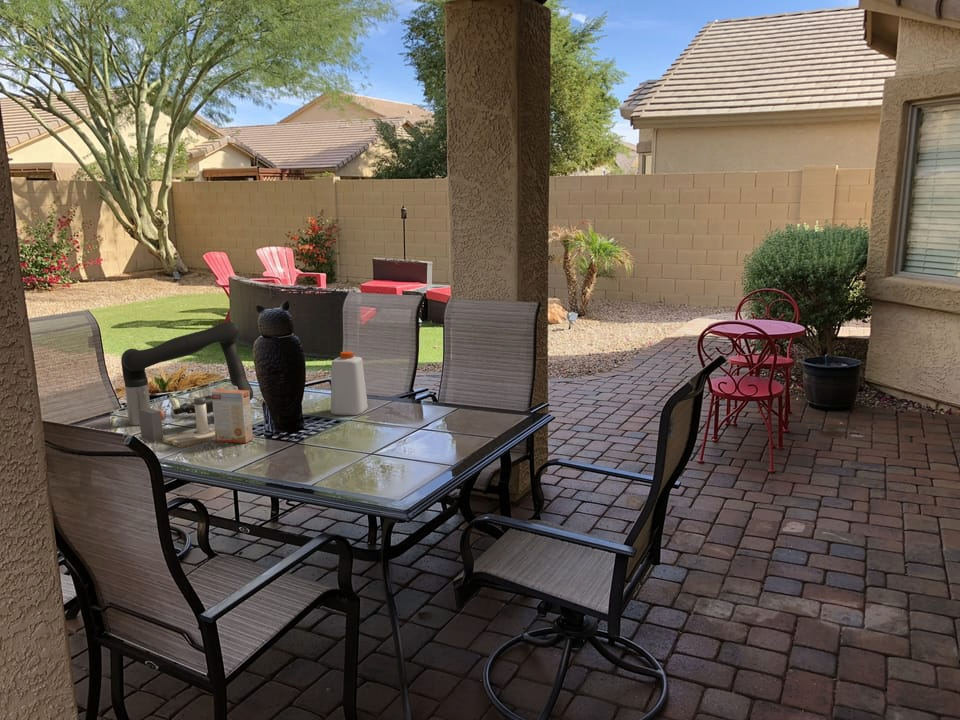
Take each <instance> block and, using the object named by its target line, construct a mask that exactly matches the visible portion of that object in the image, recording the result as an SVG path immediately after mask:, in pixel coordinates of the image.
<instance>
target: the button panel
mask: <svg viewBox="0 0 960 720" xmlns="http://www.w3.org/2000/svg"><path fill="white" fill-rule="evenodd" d="M158 410H159V409H154V408H151V407H150V408H145V409H140V410H139V419H140V425H139V427H140V436H141V437H142V438H141V439H143V440H144V439H145V440H147V441H149V442H153V441H156V442H159V441H158V440H160V441H162V440H161V439H162V438H164V432H163V420H161V411H158Z"/></svg>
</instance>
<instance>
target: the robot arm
mask: <svg viewBox="0 0 960 720" xmlns="http://www.w3.org/2000/svg"><path fill="white" fill-rule="evenodd" d="M239 334H240V328H239V326H238V325H237V324H236V323H235V322H232V321H225V322H222V323H220V324H217V325H215V326H214V325H213V326H212V327H209V328H207V329H204V330H203V329H202V330H199V331H195V332H192V333H188V334H183V335H181V336H177V337H174V338H170V339H168V340H166V341H165V342H163V343H160V344H159V345H156V346H153V347H150V348H145V349H137V348H129V349H126V350H125V351H124V352H123V353H122V355H121V361H120V362H121V363H120V364H121V370H122V377H123V378H122V379H123V382H124V388H125V389H124V390H125V397H126V399H125V400H126V409H127V411H126V412H127V419H128V424H129V425H130V426H140V419H139V410H140V409H145V408H150V409H151V402H150V401H151V400H150V390H149V382H148V377H147V373H146V369H147V368H150V367H152V366H154V365H157V364H160V363H164V362H167V361H173V360H176V359H181V358H185V357H187V356H191V355H193V354H195V353H198V352H200V351H201V350H203V349H205V348H206V347H208V346H210V345H212V344H215V343H219V345H220V346H221V347H220V348H221V350H222V353H223V355H224V357H225V361H226V366H227V370H228V371H227V372H228V376H229V379H230V382H231V384H232V386H234V387H236V388H237V390H249V393H250V401H251V400H252V399H253V397H254V390H253V388H252V386H251V384H250V382H249V380H248V379H247V375H246V370H245V367H244V364H243V361H242V359H241V357H240V355H239V352H238V351H239V350H238V344H237V343H238V338H239ZM203 397H204V398H206V411H207V414H210V413H213V402H212V394H209V395H204V396H203ZM172 412H173V414H174V415H180V414H188V415H189V414H195V404H194V401H193V402H191V403H187V402H184V403H182V404H181V405H180V406H179V407H177V408H173V410H172Z"/></svg>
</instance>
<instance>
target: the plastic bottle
mask: <svg viewBox="0 0 960 720" xmlns="http://www.w3.org/2000/svg"><path fill="white" fill-rule="evenodd" d="M363 362H364V361H363V358H362V357H360V356H354V352H353V351H350V350H349V351H341V352H340V353H339V357H336V358H334V359H333V360H332V361H331V376H330V378H331V379H330V381H331V382H330V383H331V384H330V413H331V414H332V415H335V416H359V415H362V414H363V413H364V412H365V411H366V410H368V407H369V405H368V398H367V389H366V381H365V372H364V363H363Z"/></svg>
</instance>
